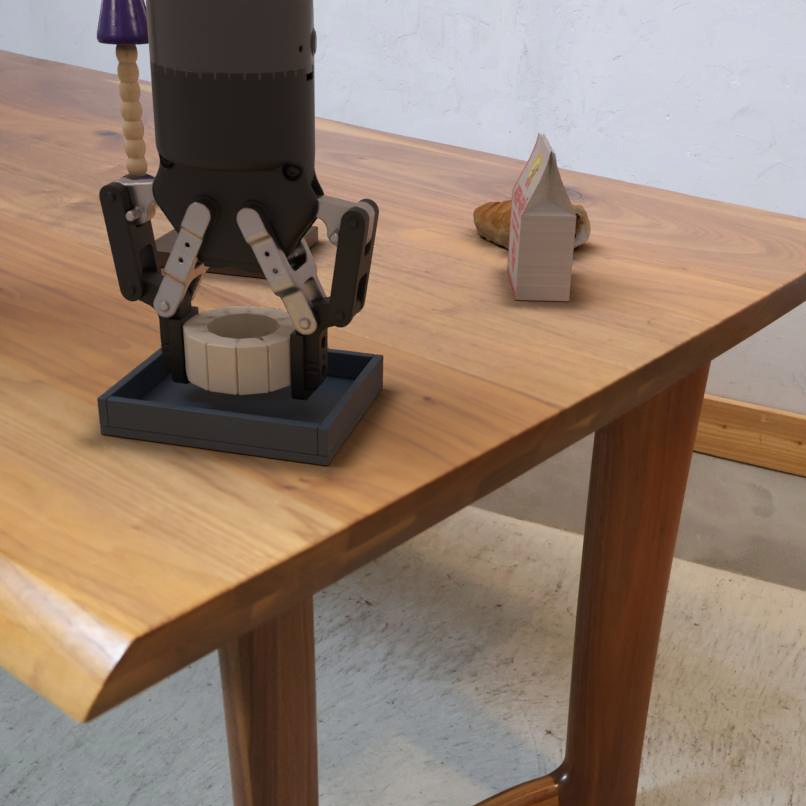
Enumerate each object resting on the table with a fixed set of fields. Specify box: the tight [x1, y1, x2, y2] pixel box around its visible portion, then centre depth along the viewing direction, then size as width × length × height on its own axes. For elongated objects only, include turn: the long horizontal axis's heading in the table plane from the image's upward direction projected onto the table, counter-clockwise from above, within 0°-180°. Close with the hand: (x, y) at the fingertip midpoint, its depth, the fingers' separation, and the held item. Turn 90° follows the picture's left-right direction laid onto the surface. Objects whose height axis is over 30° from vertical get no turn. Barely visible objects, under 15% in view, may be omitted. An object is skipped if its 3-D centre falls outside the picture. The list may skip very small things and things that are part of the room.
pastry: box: [472, 199, 591, 250], centre depth 91 cm, size 9×7×4 cm
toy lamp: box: [96, 0, 155, 180], centre depth 96 cm, size 5×5×17 cm
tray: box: [96, 347, 384, 467], centre depth 61 cm, size 12×10×2 cm
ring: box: [183, 305, 295, 395], centre depth 60 cm, size 6×6×3 cm
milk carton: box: [506, 132, 576, 302], centre depth 80 cm, size 4×7×10 cm, turn 2°
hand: (246, 385), depth 61 cm, fingers closed on ring, 6 cm apart
